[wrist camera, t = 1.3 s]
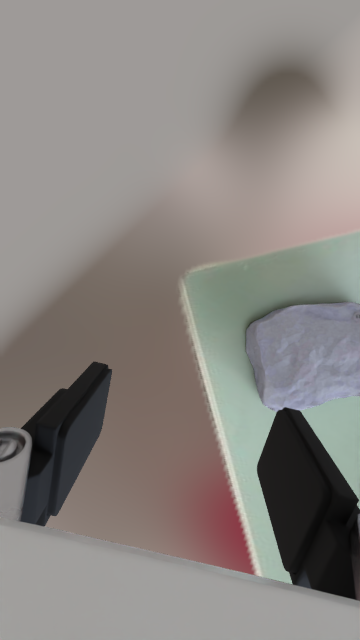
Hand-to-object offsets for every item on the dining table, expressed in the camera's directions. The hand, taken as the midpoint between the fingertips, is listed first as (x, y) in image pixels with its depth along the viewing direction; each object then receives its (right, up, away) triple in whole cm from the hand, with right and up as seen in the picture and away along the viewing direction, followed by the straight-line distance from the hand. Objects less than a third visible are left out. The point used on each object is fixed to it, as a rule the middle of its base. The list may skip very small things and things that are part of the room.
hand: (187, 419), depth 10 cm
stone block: (+13, +1, +17) cm, 22 cm away
